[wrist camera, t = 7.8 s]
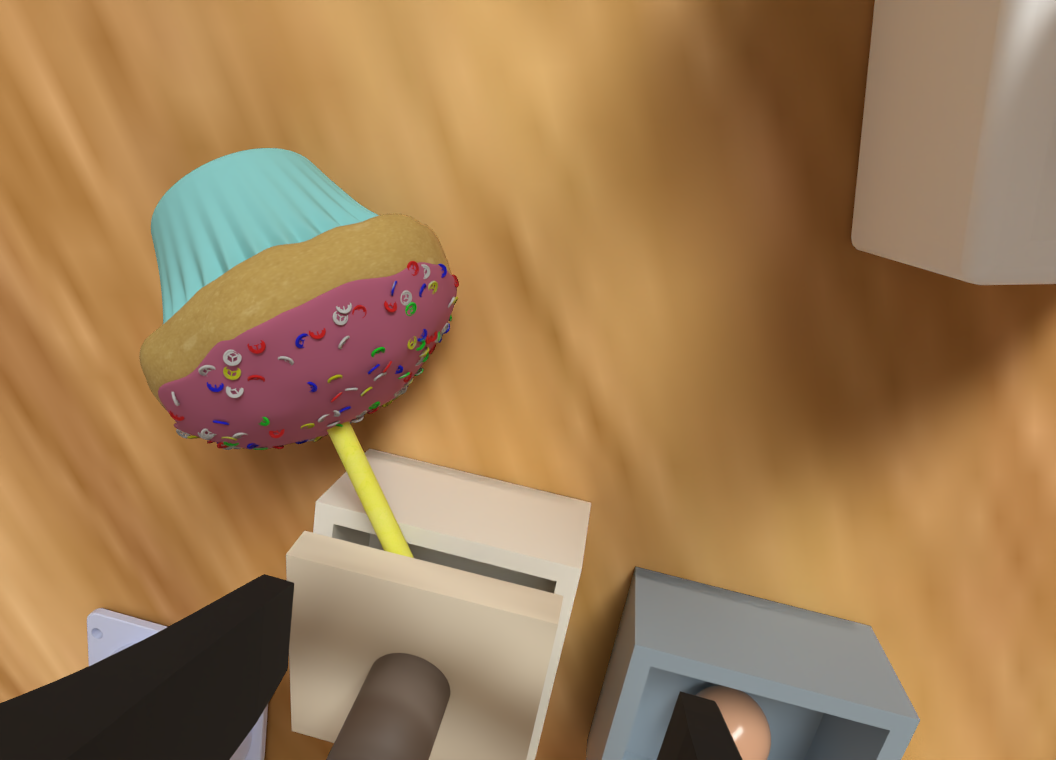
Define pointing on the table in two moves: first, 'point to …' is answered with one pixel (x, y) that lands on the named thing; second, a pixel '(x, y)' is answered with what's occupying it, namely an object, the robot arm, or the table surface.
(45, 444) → the table surface
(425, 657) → the lid
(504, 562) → the cream pot
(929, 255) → the medicine bottle
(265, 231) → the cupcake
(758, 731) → the terracotta ball
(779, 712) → the slate pot
